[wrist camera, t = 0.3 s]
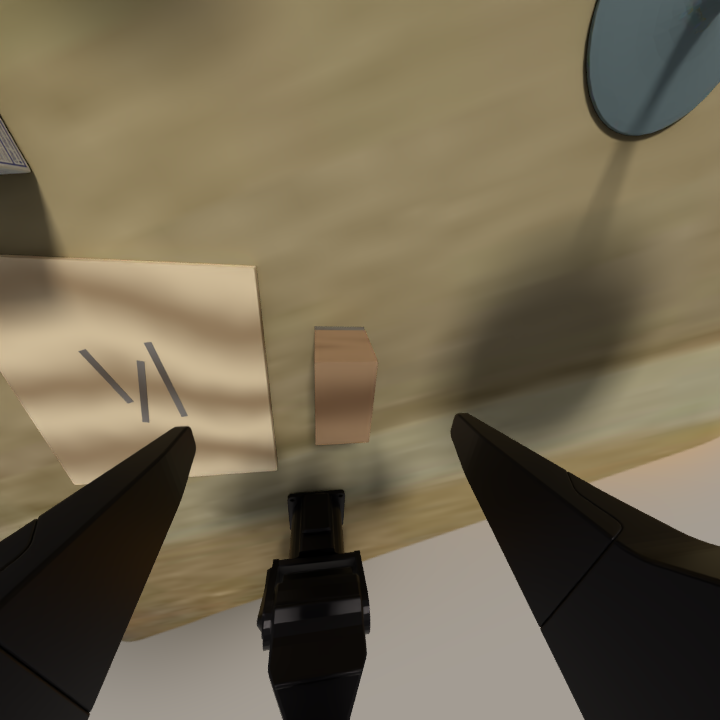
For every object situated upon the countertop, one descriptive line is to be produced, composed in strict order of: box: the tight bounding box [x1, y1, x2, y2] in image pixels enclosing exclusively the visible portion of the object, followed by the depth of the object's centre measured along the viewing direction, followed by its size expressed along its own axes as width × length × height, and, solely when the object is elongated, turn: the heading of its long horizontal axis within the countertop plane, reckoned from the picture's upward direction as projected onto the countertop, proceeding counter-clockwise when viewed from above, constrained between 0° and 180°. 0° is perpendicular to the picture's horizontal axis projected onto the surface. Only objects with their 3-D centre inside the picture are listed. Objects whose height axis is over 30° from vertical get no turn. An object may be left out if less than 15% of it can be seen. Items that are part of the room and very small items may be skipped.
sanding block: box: [315, 326, 378, 445], centre depth 21 cm, size 7×4×6 cm, turn 176°
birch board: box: [0, 255, 278, 485], centre depth 22 cm, size 20×18×1 cm
